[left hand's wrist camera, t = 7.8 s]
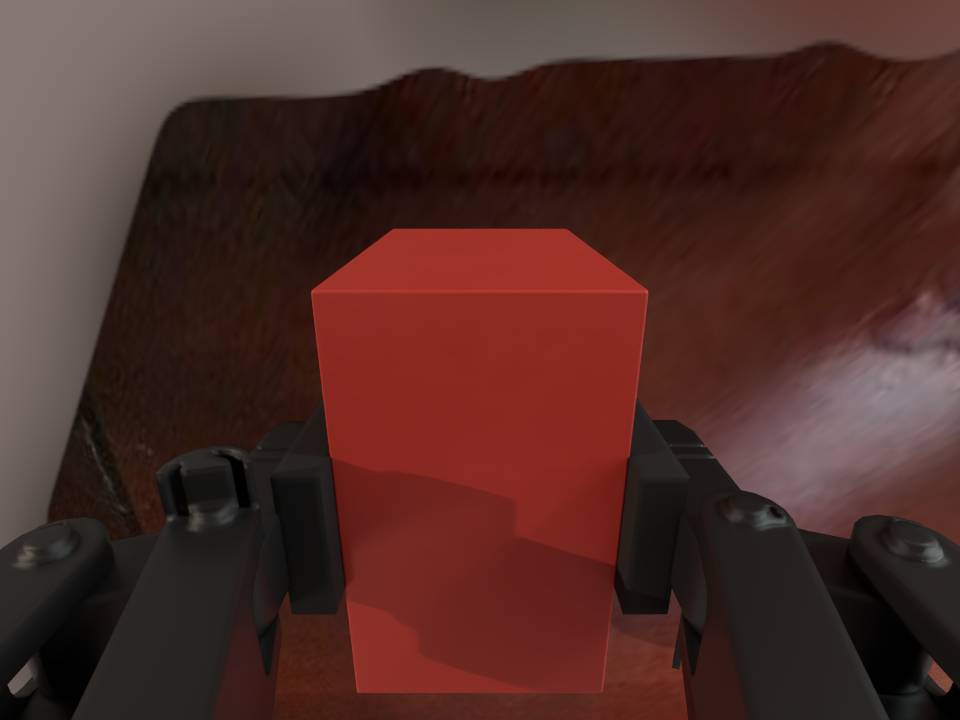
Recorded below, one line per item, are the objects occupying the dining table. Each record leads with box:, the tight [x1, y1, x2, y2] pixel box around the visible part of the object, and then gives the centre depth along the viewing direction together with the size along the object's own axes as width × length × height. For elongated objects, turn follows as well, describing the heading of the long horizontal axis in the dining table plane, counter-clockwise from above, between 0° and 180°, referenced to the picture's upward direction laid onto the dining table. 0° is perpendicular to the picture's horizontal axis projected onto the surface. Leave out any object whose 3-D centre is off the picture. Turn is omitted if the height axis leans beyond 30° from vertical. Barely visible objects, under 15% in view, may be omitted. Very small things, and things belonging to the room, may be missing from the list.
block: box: [311, 229, 648, 693], centre depth 12 cm, size 8×5×8 cm, turn 0°
